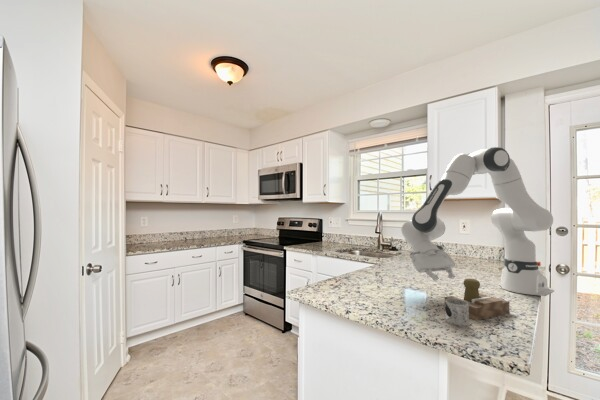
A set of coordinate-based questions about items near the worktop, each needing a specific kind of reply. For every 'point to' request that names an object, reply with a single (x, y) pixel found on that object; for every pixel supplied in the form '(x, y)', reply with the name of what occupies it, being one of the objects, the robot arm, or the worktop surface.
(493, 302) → the walnut dock
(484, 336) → the worktop surface
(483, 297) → the latch tongue
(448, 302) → the mug
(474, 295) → the cork
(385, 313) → the worktop surface
